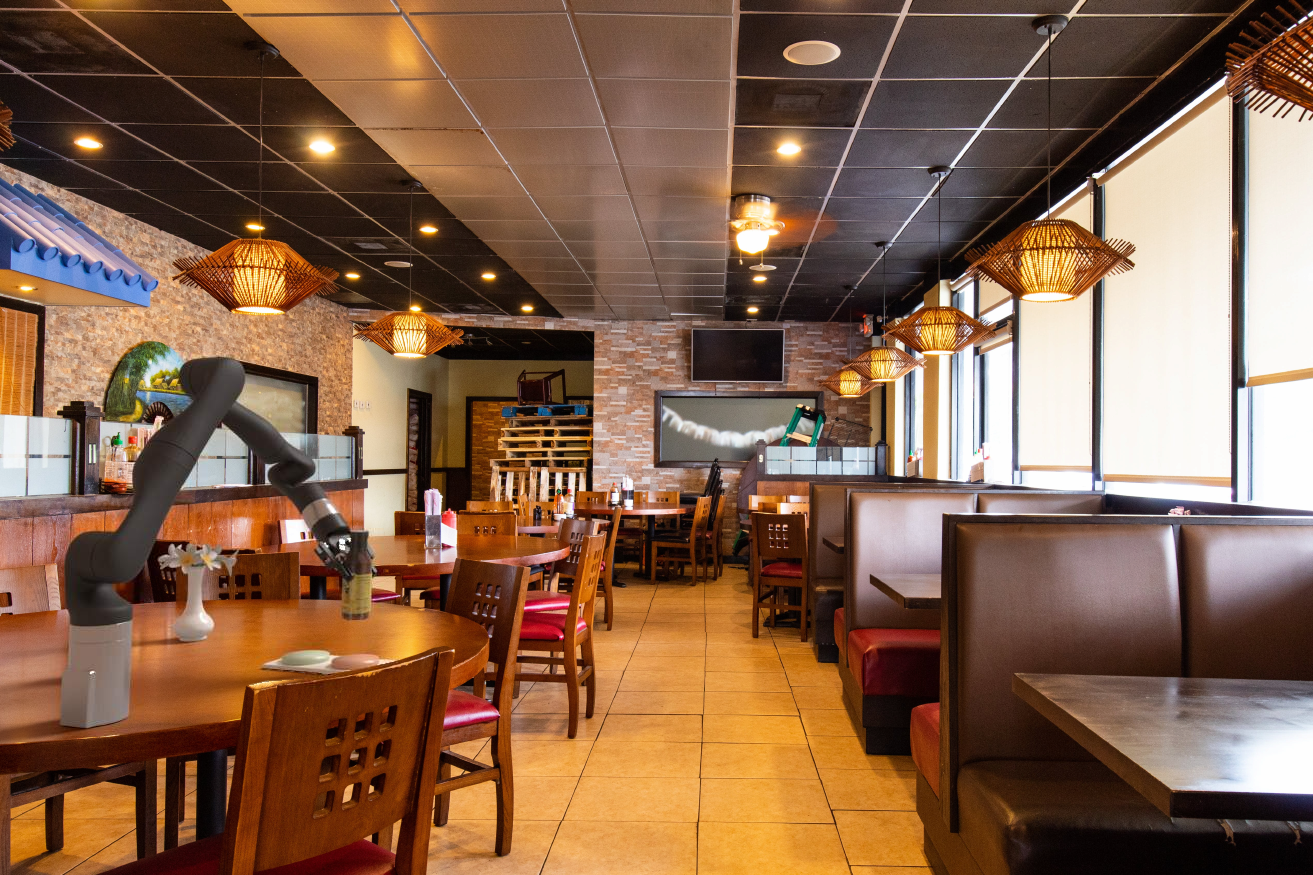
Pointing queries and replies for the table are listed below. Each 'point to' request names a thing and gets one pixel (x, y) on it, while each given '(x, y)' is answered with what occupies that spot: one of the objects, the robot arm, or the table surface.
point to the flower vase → (195, 587)
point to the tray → (324, 662)
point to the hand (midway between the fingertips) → (362, 577)
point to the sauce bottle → (357, 579)
